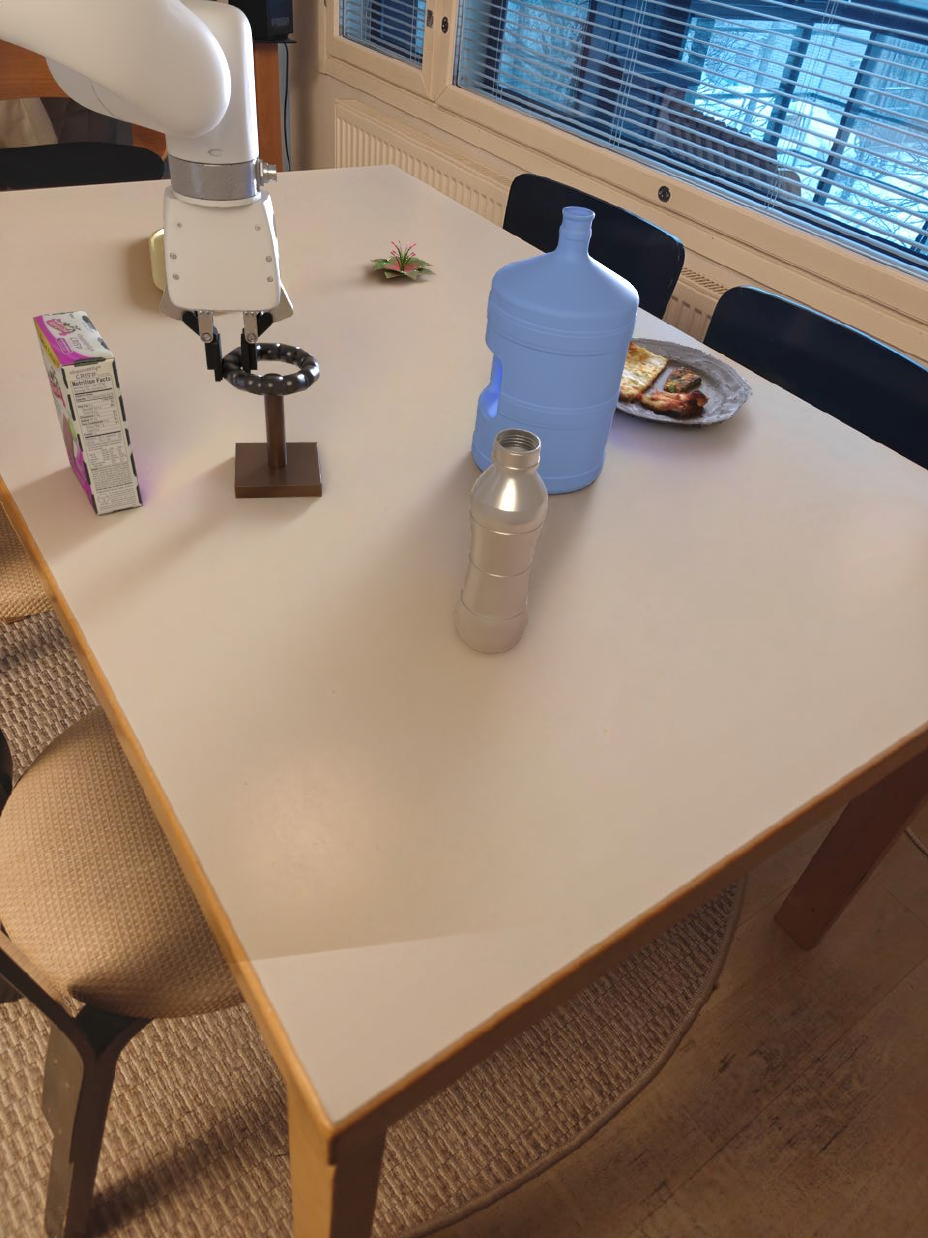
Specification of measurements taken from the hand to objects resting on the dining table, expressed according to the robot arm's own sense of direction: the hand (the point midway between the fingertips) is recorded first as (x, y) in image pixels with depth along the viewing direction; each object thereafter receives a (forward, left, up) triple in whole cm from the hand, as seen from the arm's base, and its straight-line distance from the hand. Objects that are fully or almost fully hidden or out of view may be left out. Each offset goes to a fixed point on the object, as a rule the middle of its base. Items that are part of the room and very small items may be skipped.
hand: (233, 374), depth 86 cm
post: (+4, 0, -12) cm, 12 cm away
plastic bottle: (+22, -28, -12) cm, 38 cm away
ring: (+4, 0, +1) cm, 4 cm away
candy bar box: (-14, -2, -12) cm, 18 cm away
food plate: (+56, +20, -12) cm, 60 cm away
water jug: (+34, +2, -12) cm, 36 cm away
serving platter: (-5, +63, -12) cm, 64 cm away
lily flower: (+26, +64, -12) cm, 70 cm away
